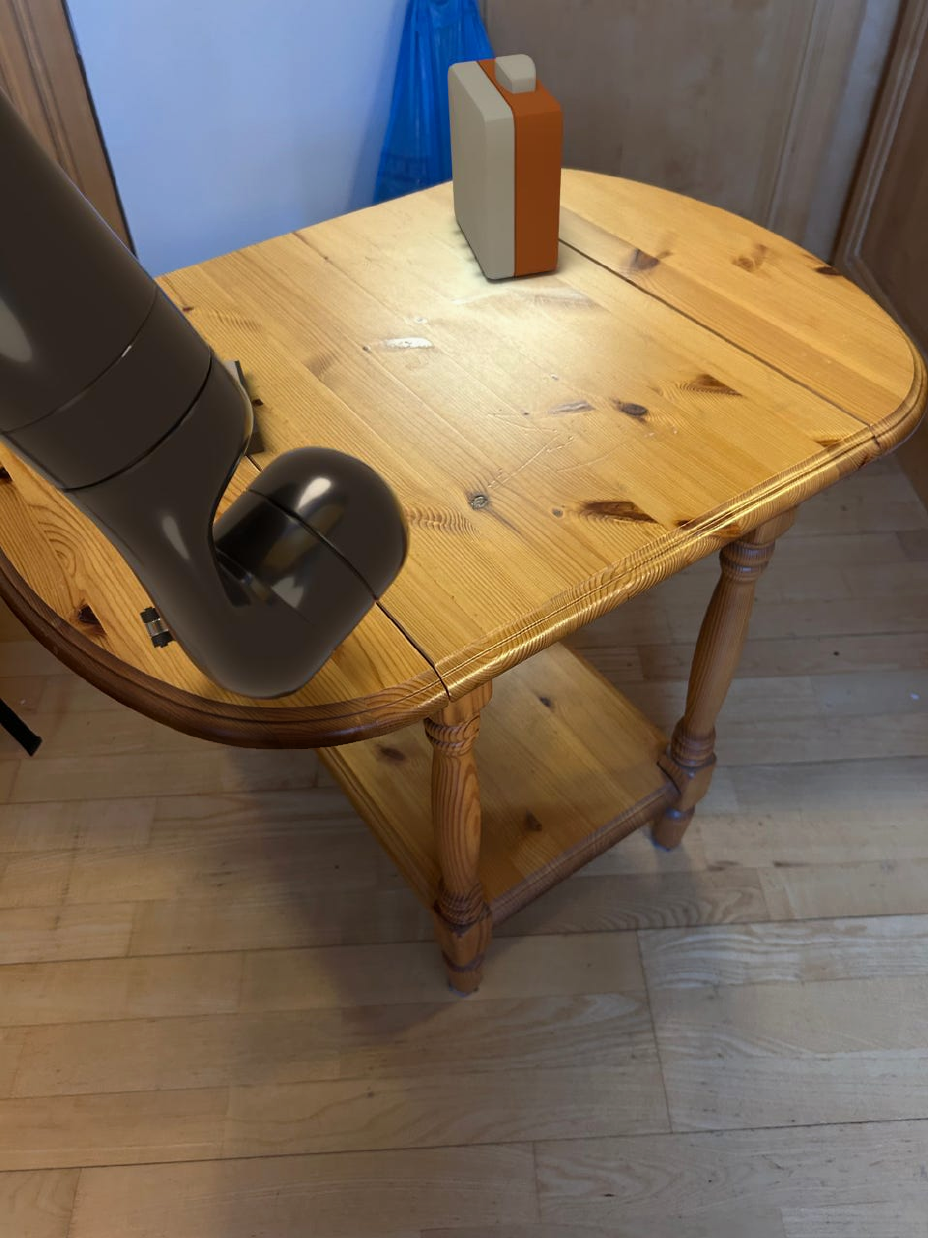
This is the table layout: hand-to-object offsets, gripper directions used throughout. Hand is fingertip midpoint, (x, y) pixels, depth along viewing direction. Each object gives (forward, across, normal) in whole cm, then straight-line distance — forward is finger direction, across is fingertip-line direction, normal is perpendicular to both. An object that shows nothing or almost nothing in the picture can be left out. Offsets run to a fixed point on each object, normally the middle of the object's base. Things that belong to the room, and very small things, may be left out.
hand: (239, 596), depth 68 cm
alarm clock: (+36, -49, -29) cm, 67 cm away
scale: (+24, -4, -18) cm, 30 cm away
